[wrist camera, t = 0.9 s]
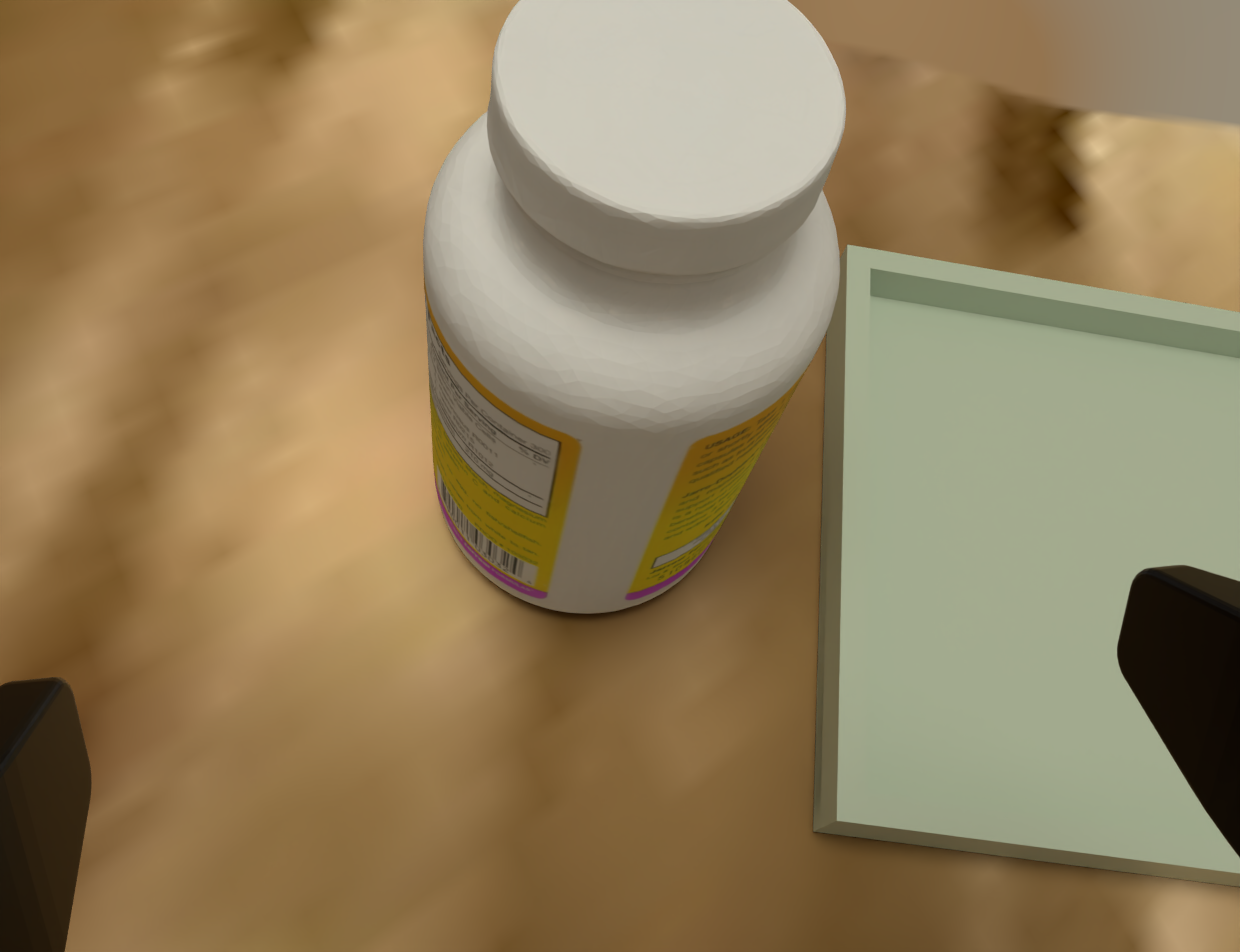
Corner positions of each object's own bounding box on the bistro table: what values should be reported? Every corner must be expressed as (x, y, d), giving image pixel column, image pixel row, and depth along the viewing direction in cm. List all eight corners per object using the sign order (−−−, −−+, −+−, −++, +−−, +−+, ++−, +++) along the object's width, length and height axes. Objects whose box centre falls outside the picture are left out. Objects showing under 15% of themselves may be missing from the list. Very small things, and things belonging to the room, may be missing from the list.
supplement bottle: (721, 378, 28) (913, -64, 16) (717, 635, 25) (947, 322, 13) (450, 347, 27) (447, -138, 15) (414, 608, 24) (380, 253, 13)
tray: (1326, 366, 30) (1369, 334, 29) (1435, 912, 24) (1497, 907, 23) (828, 281, 29) (847, 244, 28) (812, 831, 23) (837, 820, 22)
